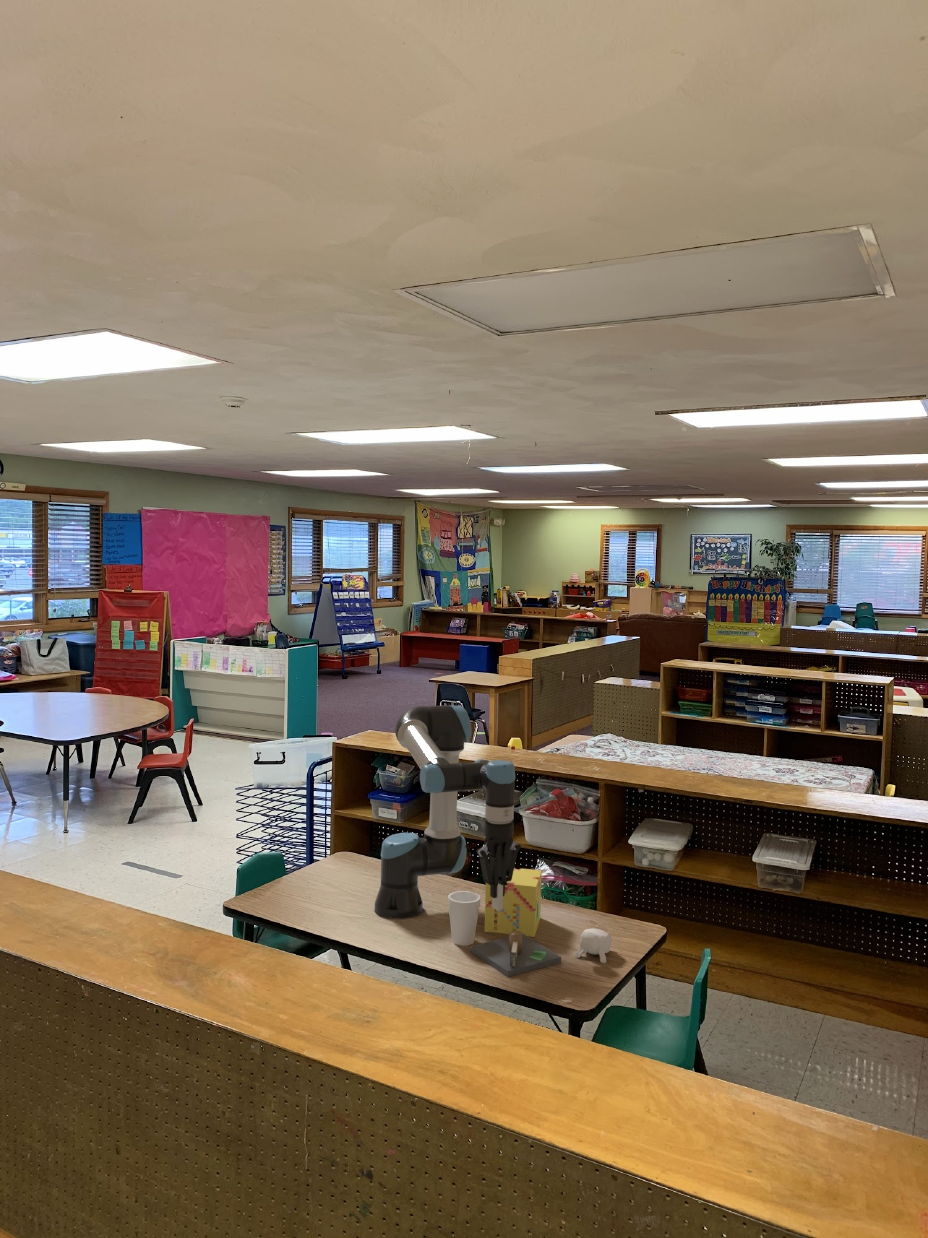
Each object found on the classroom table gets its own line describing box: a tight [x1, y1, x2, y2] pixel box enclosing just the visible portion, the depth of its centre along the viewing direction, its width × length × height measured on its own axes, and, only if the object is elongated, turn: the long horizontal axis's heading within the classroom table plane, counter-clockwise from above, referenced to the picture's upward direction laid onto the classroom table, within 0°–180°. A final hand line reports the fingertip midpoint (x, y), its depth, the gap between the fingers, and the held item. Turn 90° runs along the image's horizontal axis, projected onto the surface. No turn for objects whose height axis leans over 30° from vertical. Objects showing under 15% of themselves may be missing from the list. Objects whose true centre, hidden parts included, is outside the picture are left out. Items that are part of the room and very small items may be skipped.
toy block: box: [484, 867, 543, 938], centre depth 262 cm, size 15×15×15 cm
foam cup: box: [447, 890, 481, 947], centre depth 248 cm, size 10×9×13 cm
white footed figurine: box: [574, 928, 612, 964], centre depth 240 cm, size 9×8×15 cm
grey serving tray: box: [470, 934, 562, 978], centre depth 239 cm, size 18×18×2 cm
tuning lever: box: [508, 931, 522, 967], centre depth 234 cm, size 12×4×5 cm, turn 173°
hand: (497, 908), depth 227 cm, fingers closed
